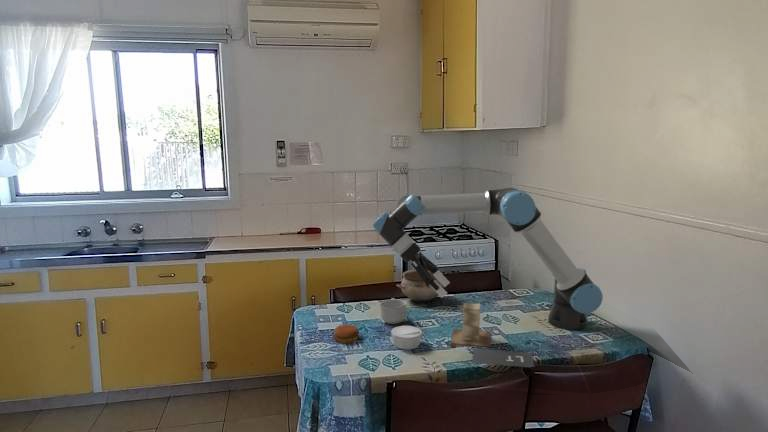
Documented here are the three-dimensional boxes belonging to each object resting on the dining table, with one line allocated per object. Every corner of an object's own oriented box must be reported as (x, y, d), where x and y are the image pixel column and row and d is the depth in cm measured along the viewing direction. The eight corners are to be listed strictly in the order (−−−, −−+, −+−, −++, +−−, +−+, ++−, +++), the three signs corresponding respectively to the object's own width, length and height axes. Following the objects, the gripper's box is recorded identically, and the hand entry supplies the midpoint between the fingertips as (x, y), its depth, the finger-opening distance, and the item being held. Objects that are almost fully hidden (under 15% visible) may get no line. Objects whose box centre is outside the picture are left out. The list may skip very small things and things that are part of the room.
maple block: (479, 334, 195) (480, 303, 193) (478, 340, 189) (479, 309, 187) (463, 333, 196) (463, 302, 194) (462, 339, 190) (463, 308, 189)
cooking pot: (405, 310, 227) (405, 282, 225) (388, 297, 244) (388, 272, 242) (455, 302, 236) (455, 276, 235) (435, 291, 254) (435, 267, 252)
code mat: (531, 355, 180) (531, 353, 180) (534, 370, 169) (534, 367, 169) (472, 351, 184) (473, 348, 184) (472, 365, 173) (472, 362, 173)
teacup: (403, 327, 207) (403, 307, 206) (377, 325, 209) (377, 306, 208) (409, 315, 220) (409, 297, 219) (384, 313, 222) (384, 295, 221)
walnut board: (490, 335, 198) (490, 331, 198) (490, 350, 185) (490, 346, 185) (453, 332, 201) (453, 328, 201) (450, 346, 188) (450, 342, 187)
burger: (348, 345, 189) (348, 333, 188) (328, 340, 194) (328, 328, 193) (364, 337, 197) (364, 325, 196) (344, 332, 202) (344, 320, 201)
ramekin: (412, 353, 182) (412, 339, 181) (385, 346, 188) (385, 333, 187) (427, 342, 191) (427, 329, 191) (400, 336, 197) (401, 323, 196)
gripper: (404, 247, 206) (441, 286, 205) (393, 262, 181) (435, 307, 181) (418, 235, 204) (455, 274, 203) (409, 248, 180) (451, 293, 179)
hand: (446, 290), depth 192 cm, fingers open, 13 cm apart
